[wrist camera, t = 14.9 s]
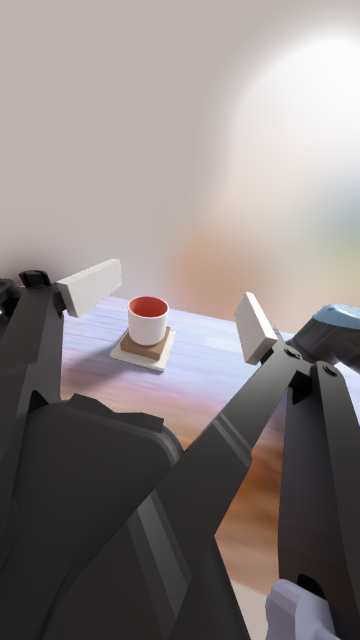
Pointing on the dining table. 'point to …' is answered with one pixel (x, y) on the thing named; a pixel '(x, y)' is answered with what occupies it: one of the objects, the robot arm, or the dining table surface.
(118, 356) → the plinth
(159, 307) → the cup
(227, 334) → the dining table surface
